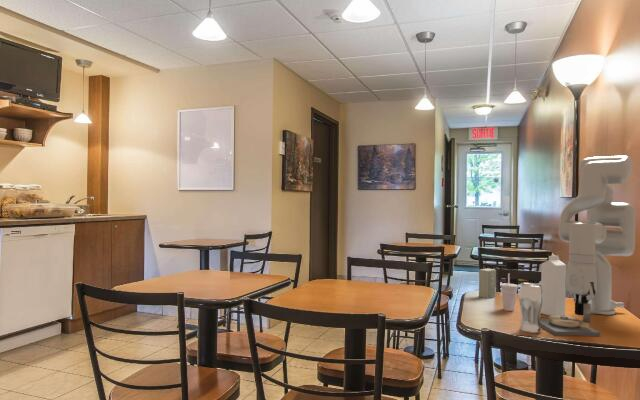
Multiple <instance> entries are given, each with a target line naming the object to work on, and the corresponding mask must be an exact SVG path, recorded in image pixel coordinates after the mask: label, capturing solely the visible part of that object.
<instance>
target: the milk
mask: <svg viewBox="0 0 640 400" xmlns="http://www.w3.org/2000/svg"><path fill="white" fill-rule="evenodd" d="M559 257H560V256H559V255H558V254H557V255H549V256H548V260H546V261H544V262H541V271H540V272H541V275H540V278H541V280H540V281H541V282H540V285H542V290H543V304H542V310H541V314H543V315H545V316H546V315H547V316H553V315H560V316H566V291H567V290H566V289H565V278H566V270H567V265H566V263H564V262H563V261H562V260H560V258H559Z"/></svg>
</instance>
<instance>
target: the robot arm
mask: <svg viewBox="0 0 640 400" xmlns="http://www.w3.org/2000/svg"><path fill="white" fill-rule="evenodd" d="M578 166H579V172H580V177H579V185H578V194H577V196H576V197H575V198H574V199H572V200H570V201H569V202H568V203H567V205H566V206H565V207H564V208H563V210H562V212H561V214H560V218H559V225H558V237H559V239H560V240H561V241H563V242H564V243H565V242H566V243H569V244H568V245H569V246H568V247H569V249H568V262H567V265H566V278H565V289H566V291H567V292H568V294H569V295H571V296H572V297H573V301H574V314H575V315H577V316H583V310H584V304H591V314H594V315H604V316H605V315H606V316H609V315H611V316H612V315H615V314H616V313H617V310H616V308H624V307H625V303H624V302H622V301H621V302H620V301H619V302H618V301H617V302H616V301H614V300H613V299H612V283H613V282H612V281H613V280H612V279H613V278H612V273H613V270H612V265H611V263H610V262H609V260H608V258H606V257H605V256H614V257H630V256H632V255H633V254H634V253H635V249H636V221H637V220H636V215H637V214H636V210H635V207H634V206H633V204H631V203H627V202H614V201H613V199H614V198H613V197H614V191H613V188H612V187H611V186H610V185H614V184H615V185H617V184H619V185H620V184H621V185H622V184H625V183H627V181H628V180H629V179H630V177H631V175H632V173H633V169H634V168H633V167H634V166H633V161H632V159H631V158H630V156H627V155H614V156H613V155H611V156H608V155H607V156H593V157H592V156H591V157H586V158H583V159H582V160H581V161H579V165H578ZM585 211H586V221H577V220H572V218H573V217H574V216H575V215H577V214H579V213H582V212H585ZM607 228H619V229H620V230H611V229H607Z"/></svg>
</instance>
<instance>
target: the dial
mask: <svg viewBox="0 0 640 400" xmlns="http://www.w3.org/2000/svg"><path fill="white" fill-rule="evenodd" d="M591 314H592V313H591V304H584V310H583V315H582V319H583V320H580V319H578V318H576V317H573V316H567V315H563V316H560V315H553V316H550V315H548V318H549V323H551V324H553V325H557V326H562V327H586V328H589V327H590V324H591Z"/></svg>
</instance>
